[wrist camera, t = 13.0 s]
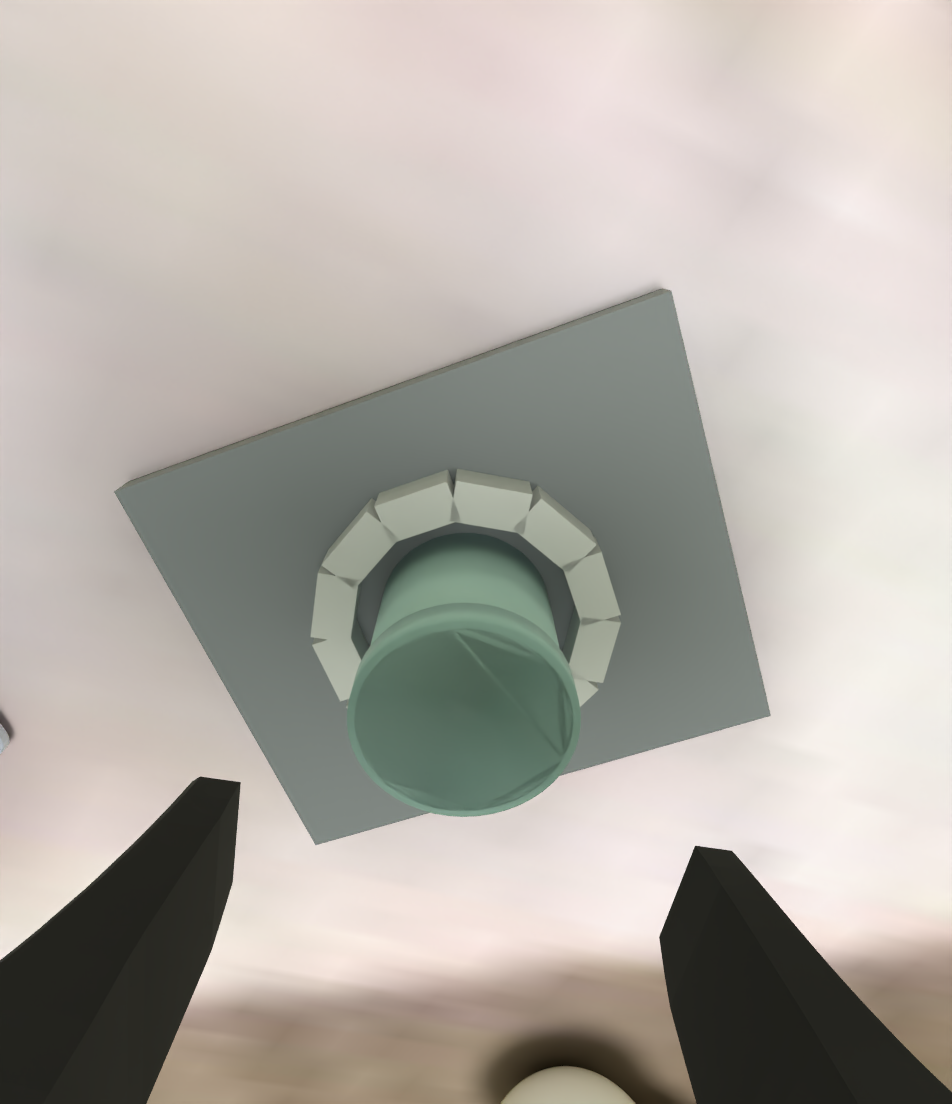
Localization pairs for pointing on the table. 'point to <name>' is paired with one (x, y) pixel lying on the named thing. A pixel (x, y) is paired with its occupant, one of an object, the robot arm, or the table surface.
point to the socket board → (469, 507)
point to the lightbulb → (566, 1088)
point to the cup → (464, 682)
